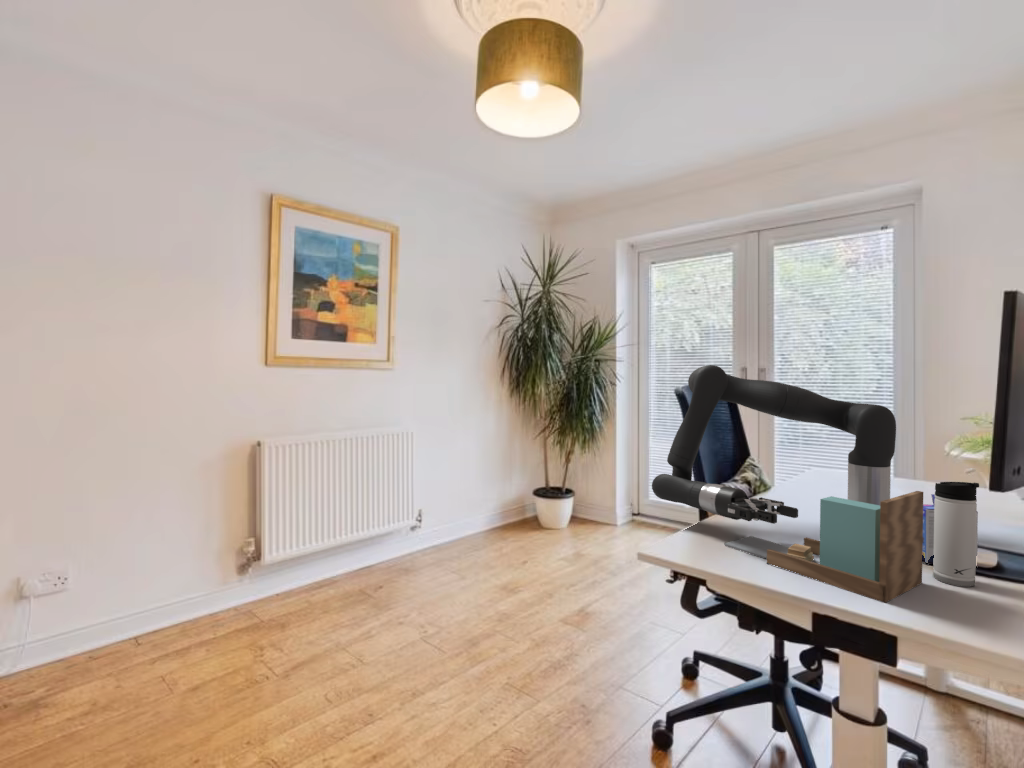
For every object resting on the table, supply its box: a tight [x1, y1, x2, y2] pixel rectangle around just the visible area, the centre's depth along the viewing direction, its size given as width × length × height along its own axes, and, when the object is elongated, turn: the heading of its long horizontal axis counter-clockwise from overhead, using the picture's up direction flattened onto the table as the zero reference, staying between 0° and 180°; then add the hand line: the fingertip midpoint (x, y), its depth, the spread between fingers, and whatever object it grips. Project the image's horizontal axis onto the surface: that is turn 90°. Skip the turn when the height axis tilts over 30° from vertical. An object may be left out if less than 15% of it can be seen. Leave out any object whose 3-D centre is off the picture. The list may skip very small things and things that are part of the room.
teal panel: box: [819, 496, 880, 582], centre depth 101 cm, size 5×10×15 cm, turn 32°
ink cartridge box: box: [922, 493, 979, 563], centre depth 109 cm, size 10×6×14 cm, turn 78°
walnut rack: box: [766, 490, 924, 603], centre depth 103 cm, size 16×22×18 cm
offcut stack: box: [787, 543, 815, 562], centre depth 110 cm, size 6×4×3 cm, turn 134°
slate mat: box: [724, 535, 790, 560], centre depth 117 cm, size 11×12×1 cm
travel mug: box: [932, 481, 980, 588], centre depth 99 cm, size 6×7×20 cm
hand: (787, 516), depth 112 cm, fingers open, 8 cm apart
